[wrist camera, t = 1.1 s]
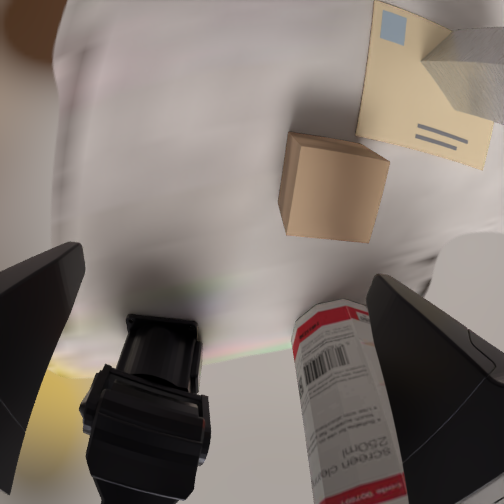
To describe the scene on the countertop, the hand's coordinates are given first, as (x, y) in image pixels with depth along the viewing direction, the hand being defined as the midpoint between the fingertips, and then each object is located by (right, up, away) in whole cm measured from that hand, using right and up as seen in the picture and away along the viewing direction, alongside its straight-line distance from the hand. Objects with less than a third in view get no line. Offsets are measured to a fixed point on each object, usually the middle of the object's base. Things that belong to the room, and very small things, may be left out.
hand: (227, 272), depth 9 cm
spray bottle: (+8, -7, +19) cm, 22 cm away
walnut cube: (+5, +6, +12) cm, 14 cm away
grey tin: (+15, +14, +7) cm, 22 cm away
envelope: (+14, +12, +8) cm, 20 cm away
